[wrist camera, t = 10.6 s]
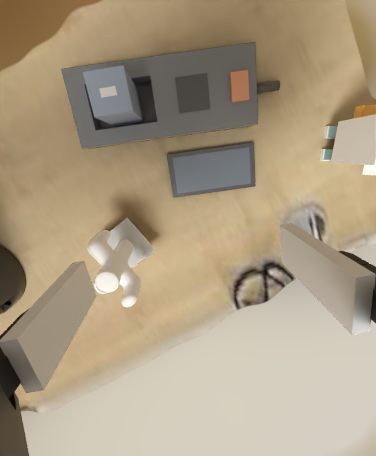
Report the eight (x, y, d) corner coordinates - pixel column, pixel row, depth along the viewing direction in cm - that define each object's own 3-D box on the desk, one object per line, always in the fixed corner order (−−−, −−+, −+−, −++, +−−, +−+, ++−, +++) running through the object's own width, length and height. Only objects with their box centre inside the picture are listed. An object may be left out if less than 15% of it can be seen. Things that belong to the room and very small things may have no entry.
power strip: (89, 148, 36) (80, 148, 33) (71, 76, 33) (58, 67, 29) (276, 122, 36) (286, 119, 33) (275, 47, 33) (287, 35, 30)
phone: (173, 196, 39) (173, 197, 38) (167, 154, 37) (166, 154, 36) (253, 185, 39) (255, 186, 38) (252, 142, 37) (254, 142, 36)
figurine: (127, 207, 39) (99, 237, 25) (161, 246, 42) (154, 294, 28) (96, 231, 40) (52, 273, 26) (131, 268, 43) (109, 325, 29)
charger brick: (114, 126, 35) (94, 117, 26) (106, 93, 33) (82, 71, 25) (143, 121, 35) (132, 110, 26) (136, 87, 33) (123, 64, 25)
